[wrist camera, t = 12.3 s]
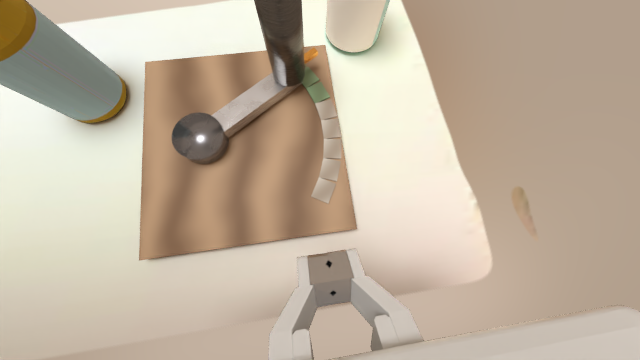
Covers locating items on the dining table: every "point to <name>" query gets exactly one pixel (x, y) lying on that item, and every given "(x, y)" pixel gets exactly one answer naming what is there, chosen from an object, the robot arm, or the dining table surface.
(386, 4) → the can
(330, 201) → the tuner board
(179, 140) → the peg lever
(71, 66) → the bottle
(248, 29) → the dining table surface
